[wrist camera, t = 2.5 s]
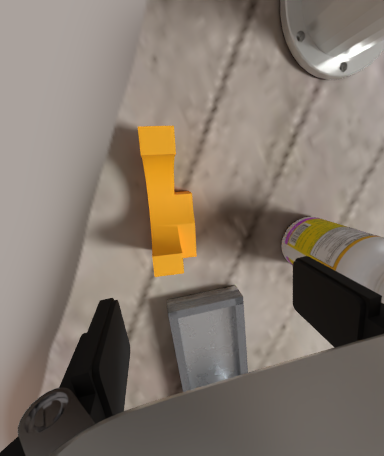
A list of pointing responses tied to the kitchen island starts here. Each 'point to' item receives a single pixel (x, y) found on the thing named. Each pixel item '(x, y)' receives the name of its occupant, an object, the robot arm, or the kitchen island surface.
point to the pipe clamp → (166, 202)
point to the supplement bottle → (338, 250)
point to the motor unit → (208, 336)
